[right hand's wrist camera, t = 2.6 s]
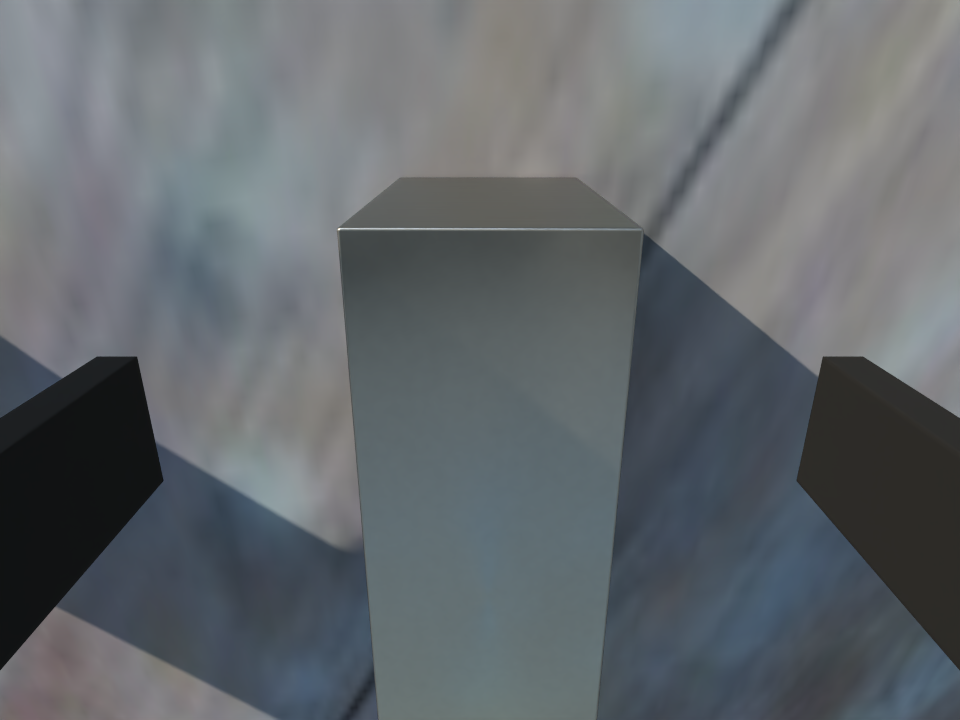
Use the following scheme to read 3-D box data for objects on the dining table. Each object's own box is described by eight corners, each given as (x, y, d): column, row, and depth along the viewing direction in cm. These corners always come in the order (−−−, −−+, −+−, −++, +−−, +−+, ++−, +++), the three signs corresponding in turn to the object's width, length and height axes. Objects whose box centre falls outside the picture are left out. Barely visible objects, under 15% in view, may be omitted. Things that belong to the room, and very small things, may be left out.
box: (398, 177, 24) (335, 227, 14) (577, 177, 24) (645, 227, 14) (418, 601, 31) (387, 833, 21) (554, 602, 31) (586, 834, 21)
